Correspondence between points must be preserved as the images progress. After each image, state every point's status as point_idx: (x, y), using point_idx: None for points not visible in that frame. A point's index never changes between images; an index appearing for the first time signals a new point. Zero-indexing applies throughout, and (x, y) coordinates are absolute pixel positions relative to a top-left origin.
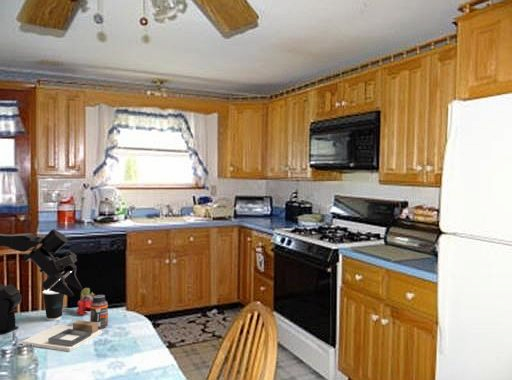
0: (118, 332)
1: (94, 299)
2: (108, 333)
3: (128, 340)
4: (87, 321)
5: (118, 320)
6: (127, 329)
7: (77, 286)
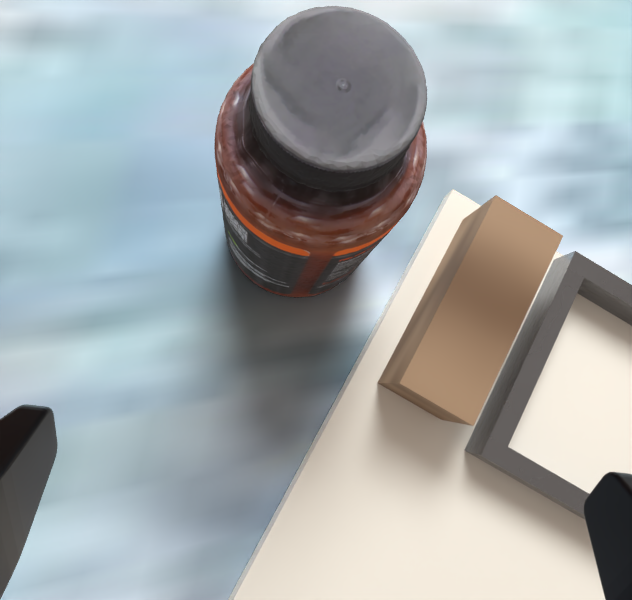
0: (448, 86)
1: (398, 161)
2: (456, 153)
3: (599, 26)
4: (452, 291)
5: (171, 89)
6: (399, 26)
7: (6, 529)
